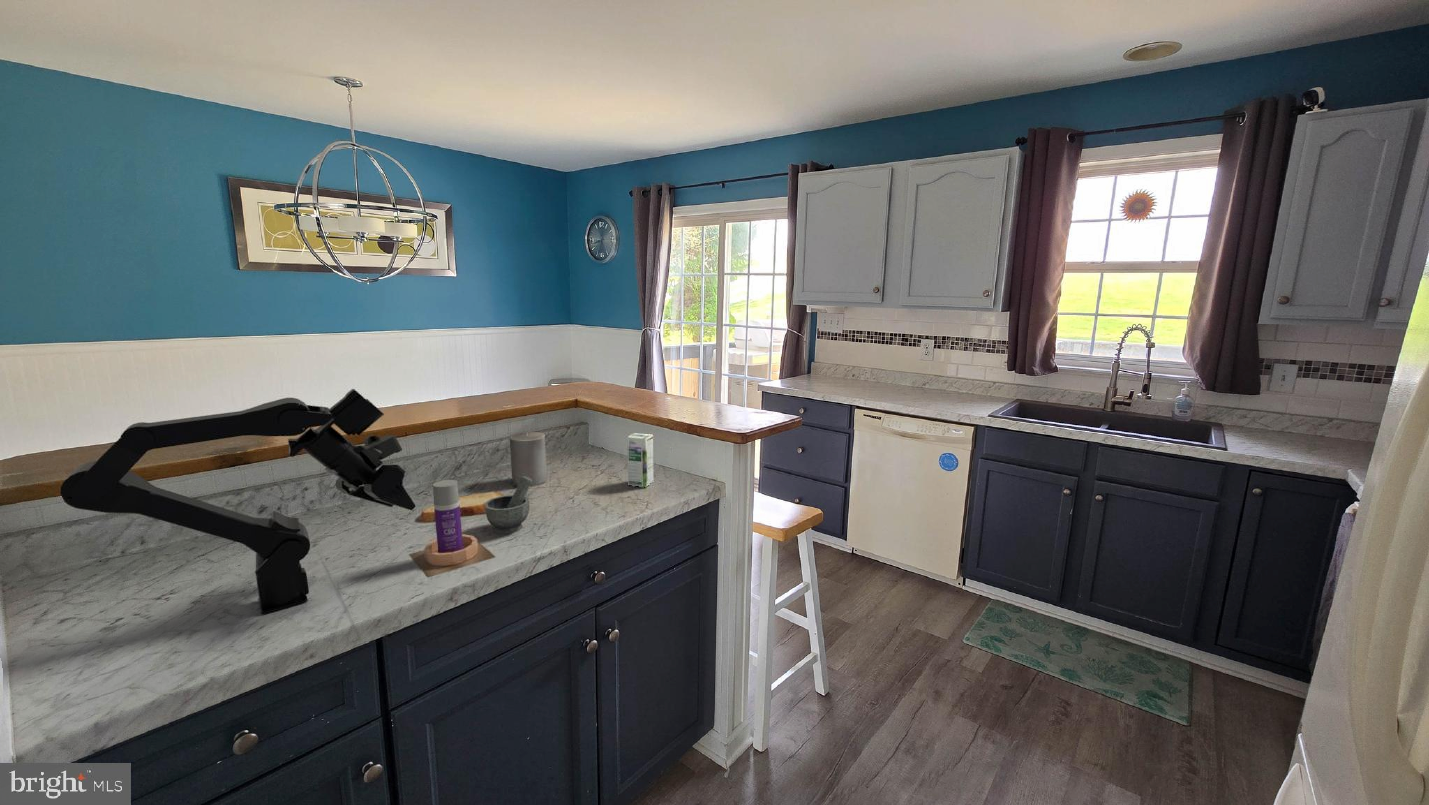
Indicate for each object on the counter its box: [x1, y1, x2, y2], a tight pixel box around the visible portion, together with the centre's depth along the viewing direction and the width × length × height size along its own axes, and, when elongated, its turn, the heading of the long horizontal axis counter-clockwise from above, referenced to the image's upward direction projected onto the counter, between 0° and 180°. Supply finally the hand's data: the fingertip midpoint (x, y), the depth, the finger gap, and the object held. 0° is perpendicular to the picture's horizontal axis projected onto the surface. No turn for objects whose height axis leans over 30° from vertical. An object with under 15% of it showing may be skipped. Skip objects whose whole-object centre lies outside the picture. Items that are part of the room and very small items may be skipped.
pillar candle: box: [509, 431, 548, 488], centre depth 165 cm, size 10×10×15 cm
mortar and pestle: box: [484, 476, 533, 535], centre depth 131 cm, size 11×9×12 cm
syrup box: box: [626, 432, 654, 489], centre depth 163 cm, size 6×6×14 cm
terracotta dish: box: [423, 533, 479, 566], centre depth 118 cm, size 10×10×2 cm
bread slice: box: [418, 491, 505, 523], centre depth 143 cm, size 18×18×4 cm
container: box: [432, 479, 463, 553], centre depth 116 cm, size 5×5×15 cm
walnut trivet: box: [408, 540, 496, 578], centre depth 118 cm, size 13×13×1 cm
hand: (403, 506), depth 111 cm, fingers open, 9 cm apart
